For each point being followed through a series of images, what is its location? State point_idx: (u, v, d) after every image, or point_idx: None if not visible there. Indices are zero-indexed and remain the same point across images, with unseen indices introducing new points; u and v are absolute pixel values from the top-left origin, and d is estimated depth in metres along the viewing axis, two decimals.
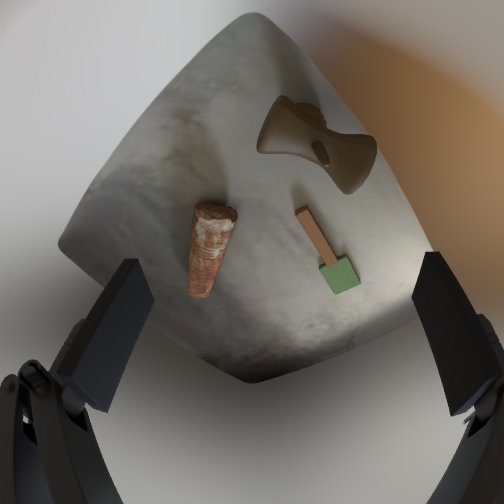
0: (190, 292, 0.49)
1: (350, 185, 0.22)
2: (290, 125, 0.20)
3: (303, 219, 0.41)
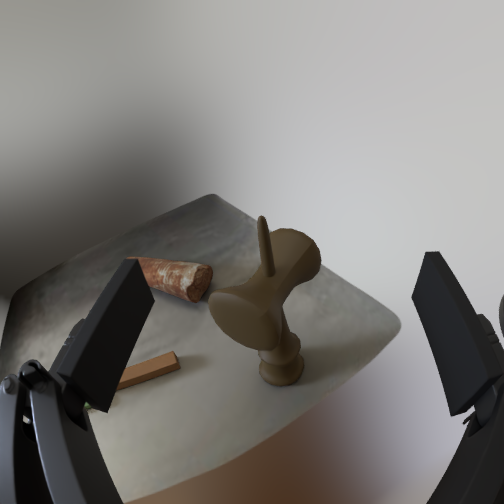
0: None
1: None
2: (293, 246, 0.23)
3: (165, 358, 0.32)
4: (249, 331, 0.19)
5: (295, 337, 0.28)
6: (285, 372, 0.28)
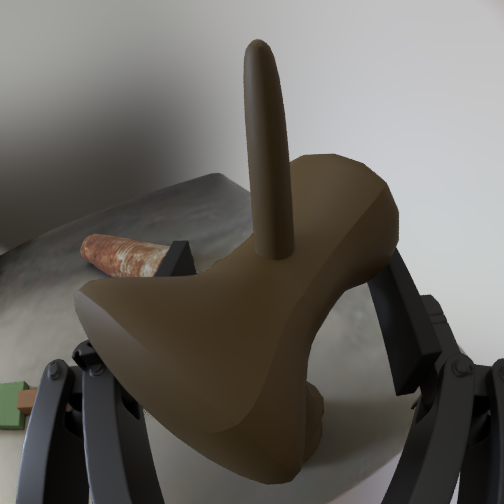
0: (96, 234, 0.35)
1: None
2: (341, 188, 0.08)
3: None
4: (186, 441, 0.04)
5: (315, 394, 0.13)
6: None
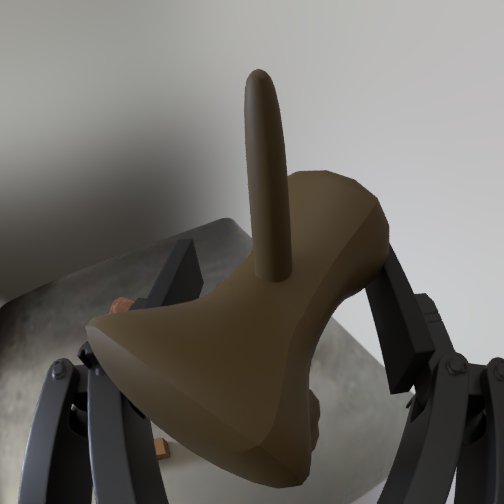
0: (123, 297, 0.39)
1: (115, 313, 0.05)
2: (334, 206, 0.09)
3: None
4: (203, 455, 0.05)
5: (311, 397, 0.14)
6: None
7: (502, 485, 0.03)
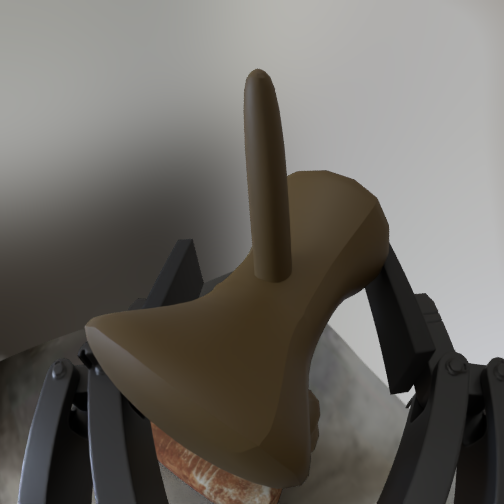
0: None
1: (115, 313, 0.05)
2: (334, 206, 0.09)
3: None
4: (203, 456, 0.05)
5: (311, 397, 0.14)
6: None
7: (502, 485, 0.03)
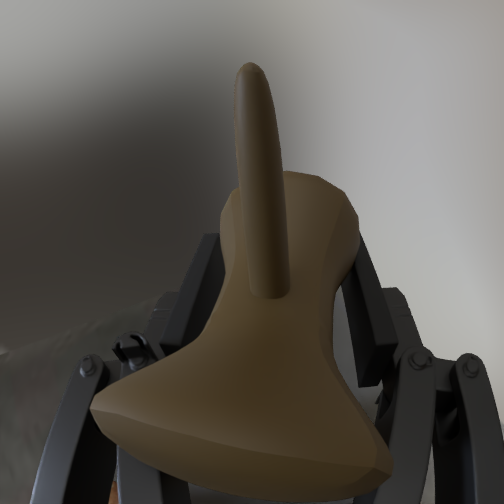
0: None
1: (126, 384, 0.04)
2: (308, 206, 0.09)
3: None
4: (275, 499, 0.04)
5: None
6: None
7: (482, 485, 0.03)
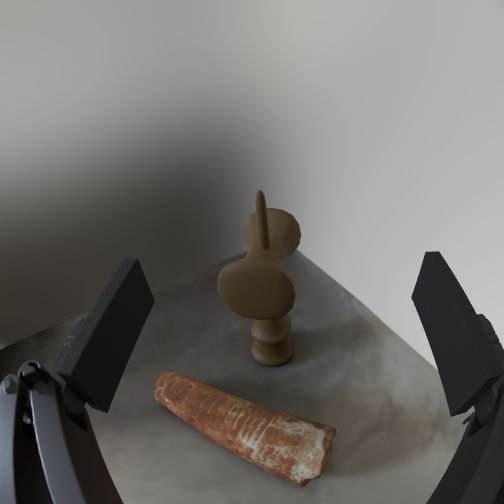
0: (173, 373, 0.27)
1: None
2: (277, 222, 0.25)
3: None
4: (266, 298, 0.20)
5: None
6: (281, 350, 0.30)
7: None
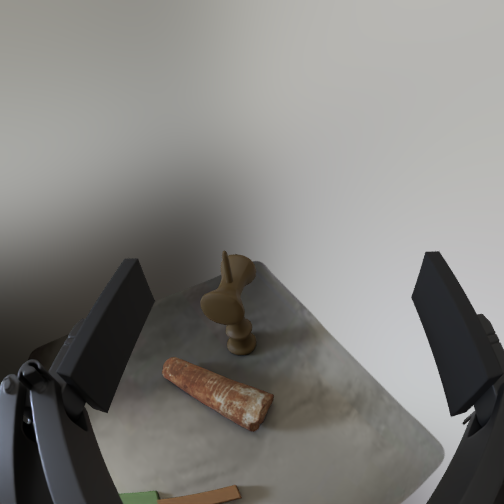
0: (174, 358, 0.42)
1: None
2: (239, 264, 0.41)
3: (228, 491, 0.25)
4: (227, 312, 0.36)
5: (247, 320, 0.46)
6: (245, 344, 0.45)
7: None
